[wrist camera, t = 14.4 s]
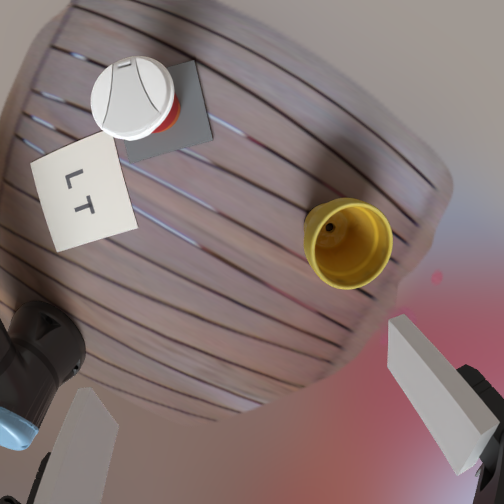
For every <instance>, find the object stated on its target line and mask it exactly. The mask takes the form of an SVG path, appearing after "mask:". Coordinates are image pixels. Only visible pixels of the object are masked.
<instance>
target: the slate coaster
mask: <svg viewBox="0 0 504 504" xmlns="http://www.w3.org/2000/svg"><path fill="white" fill-rule="evenodd" d="M166 69H167V70H168V72H169V73H170V75H171V77H172V80H173V84H174V91H175V93H176V95H177V98H178V100H179V103H180V115H179V118H178V120H177V121H176V123H175V124H174V125H173V126H172V127H171V128H169V129H167V130H165V131H163V132H158V133H151V134H150V135H148V136H146V137H144V138H141V139H138V140H132V141H129V140H124V142H125V147H126V151H127V155H128V159H129V162H130V164H132V163H135V162H138V161H141V160H144V159H148V158H151V157H154V156H157V155H161V154H164V153H168V152H171V151H175V150H178V149H182V148H185V147H189V146H193V145H197V144H200V143H204V142H208V141H212V140H213V138H212V134H211V130H210V126H209V121H208V117H207V113H206V109H205V104H204V100H203V96H202V91H201V87H200V83H199V78H198V74H197V70H196V65H195V61H194V60H193V61H189V62H185V63H181V64H177V65H174V66H170V67H167V68H166Z"/></svg>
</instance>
